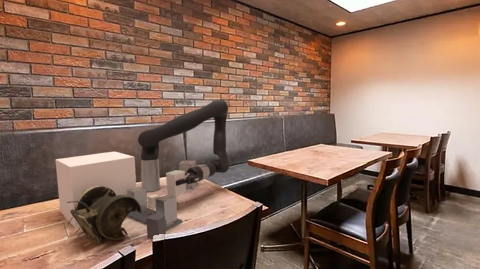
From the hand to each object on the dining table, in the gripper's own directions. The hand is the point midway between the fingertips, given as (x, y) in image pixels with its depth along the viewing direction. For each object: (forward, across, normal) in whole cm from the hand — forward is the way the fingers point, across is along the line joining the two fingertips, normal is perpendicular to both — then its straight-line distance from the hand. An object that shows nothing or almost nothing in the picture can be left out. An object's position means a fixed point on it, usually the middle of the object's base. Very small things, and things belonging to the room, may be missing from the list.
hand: (171, 182), depth 117 cm
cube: (+19, -28, +13) cm, 36 cm away
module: (-3, 0, +6) cm, 7 cm away
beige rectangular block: (+2, -12, +13) cm, 17 cm away
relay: (+19, +12, +13) cm, 26 cm away
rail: (+11, -1, +13) cm, 17 cm away
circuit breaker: (-29, -20, +13) cm, 38 cm away
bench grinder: (+30, -4, +12) cm, 33 cm away
